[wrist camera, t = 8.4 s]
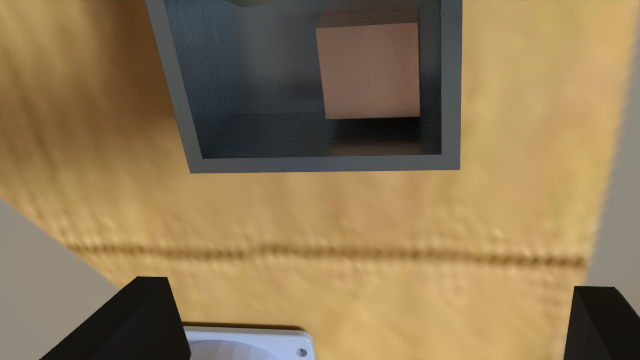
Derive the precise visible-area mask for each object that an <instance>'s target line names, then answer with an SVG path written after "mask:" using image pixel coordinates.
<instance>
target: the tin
mask: <svg viewBox="0 0 640 360" xmlns="http://www.w3.org/2000/svg"><path fill="white" fill-rule="evenodd" d="M145 2H146V6H147V10H148V14H149V18H150V22H151V25H152V29H153V33H154V37H155V41H156V44H157V48H158V52H159V56H160V60H161V63H162V67H163V71H164V75H165V79H166V83H167V86H168V90H169V94H170V98H171V102H172V105H173V109H174V113H175V117H176V121H177V124H178V128H179V132H180V136H181V140H182V144H183V147H184V151H185V155H186V159H187V163H188V166H189V170H190V173H260V172H335V171H410V170H460V136H461V67H462V0H145Z"/></svg>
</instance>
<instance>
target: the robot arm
mask: <svg viewBox="0 0 640 360" xmlns="http://www.w3.org/2000/svg"><path fill="white" fill-rule="evenodd" d="M300 348H301V349H304V350H301V349H300ZM39 360H316V357H315V351H314V345H313V339H312V337H311V335H310V334H309V333H307V332H305V331H301V330H276V329H250V328H224V327H198V326H183V325H182V322H181V318H180V315H179V312H178V309H177V306H176V303H175V300H174V297H173V293H172V290H171V287H170V284H169V281H168V278H167V277H141V276H137V277H136V278H135V279H134V280H132V281H131V282H130V283H129V284H127V285H126V286H125V287H124V288H123V289H121V290H120V291H119V292H118V293H117V294H115V295H114V296H113V297H112V298H111V299H110V300H109V301H107V302H106V303H105V304H104V305H103V306H102V307H100V308H99V309H98V310H97V311H96V312H95V313H94V314H92V315H91V316H90V317H89V318H88V319H87V320H85V321H84V322H83V323H82V324H81V325H80V326H78V327H77V328H76V329H75V330H74V331H73V332H72V333H70V334H69V335H68V336H67V337H66V338H64V339H63V340H62V341H61V342H60V343H59V344H58V345H56V346H55V347H54V348H53V349H51V350H50V351H49V352H48V353H47V354H46V355H44V356H43V357H42V358H41V359H39ZM563 360H640V317H639V316H638V314H637V313H636V312H635V311H634V309H633V308H632V307H631V306H630V304H629V303H628V302H627V301H626V299H625V298H624V297H623V295H622V294H621V293H620V292H619V291H618V290H617V289H616V288H615V287H596V286H594V287H593V286H574V293H573V299H572V306H571V313H570V319H569V326H568V333H567V339H566V346H565V353H564V359H563Z"/></svg>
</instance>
